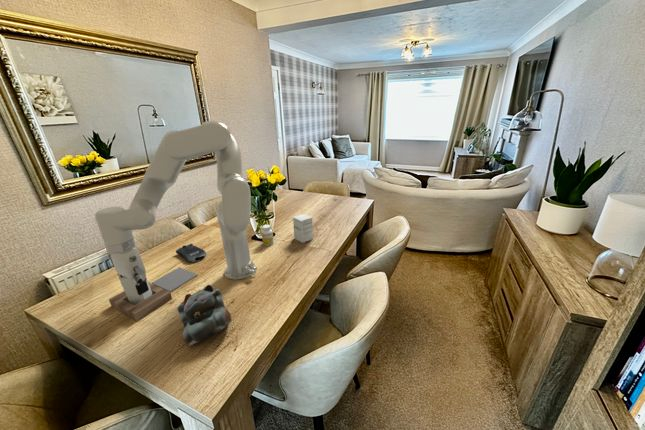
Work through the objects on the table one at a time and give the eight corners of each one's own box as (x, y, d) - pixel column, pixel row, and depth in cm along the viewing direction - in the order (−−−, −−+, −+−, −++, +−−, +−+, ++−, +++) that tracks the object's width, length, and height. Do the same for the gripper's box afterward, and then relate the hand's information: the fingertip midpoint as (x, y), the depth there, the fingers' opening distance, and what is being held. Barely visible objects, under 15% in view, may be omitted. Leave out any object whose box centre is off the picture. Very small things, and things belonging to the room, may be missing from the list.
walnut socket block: (172, 298, 92) (170, 292, 91) (137, 321, 82) (134, 314, 81) (146, 286, 99) (144, 280, 98) (111, 306, 89) (108, 299, 88)
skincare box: (154, 298, 93) (145, 270, 88) (146, 306, 89) (136, 278, 84) (138, 298, 93) (128, 270, 88) (129, 306, 89) (118, 278, 84)
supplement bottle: (263, 241, 133) (261, 224, 129) (274, 240, 133) (272, 223, 129) (262, 246, 128) (260, 228, 124) (273, 245, 128) (271, 228, 124)
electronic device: (175, 259, 121) (191, 264, 112) (173, 248, 120) (189, 252, 111) (194, 253, 128) (210, 258, 120) (192, 242, 127) (209, 246, 119)
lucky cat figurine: (176, 352, 71) (159, 305, 71) (196, 333, 83) (182, 293, 83) (227, 333, 72) (210, 287, 72) (239, 317, 84) (225, 277, 84)
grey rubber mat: (197, 275, 105) (197, 274, 105) (170, 292, 96) (170, 291, 95) (179, 268, 111) (179, 267, 110) (151, 283, 101) (151, 282, 101)
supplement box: (293, 238, 134) (292, 216, 130) (305, 234, 139) (303, 213, 134) (302, 243, 129) (300, 221, 124) (313, 239, 134) (312, 217, 129)
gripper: (148, 245, 81) (161, 289, 88) (119, 235, 89) (133, 276, 95) (122, 256, 75) (138, 302, 81) (93, 244, 82) (110, 287, 89)
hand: (135, 288), depth 88 cm, fingers open, 9 cm apart
